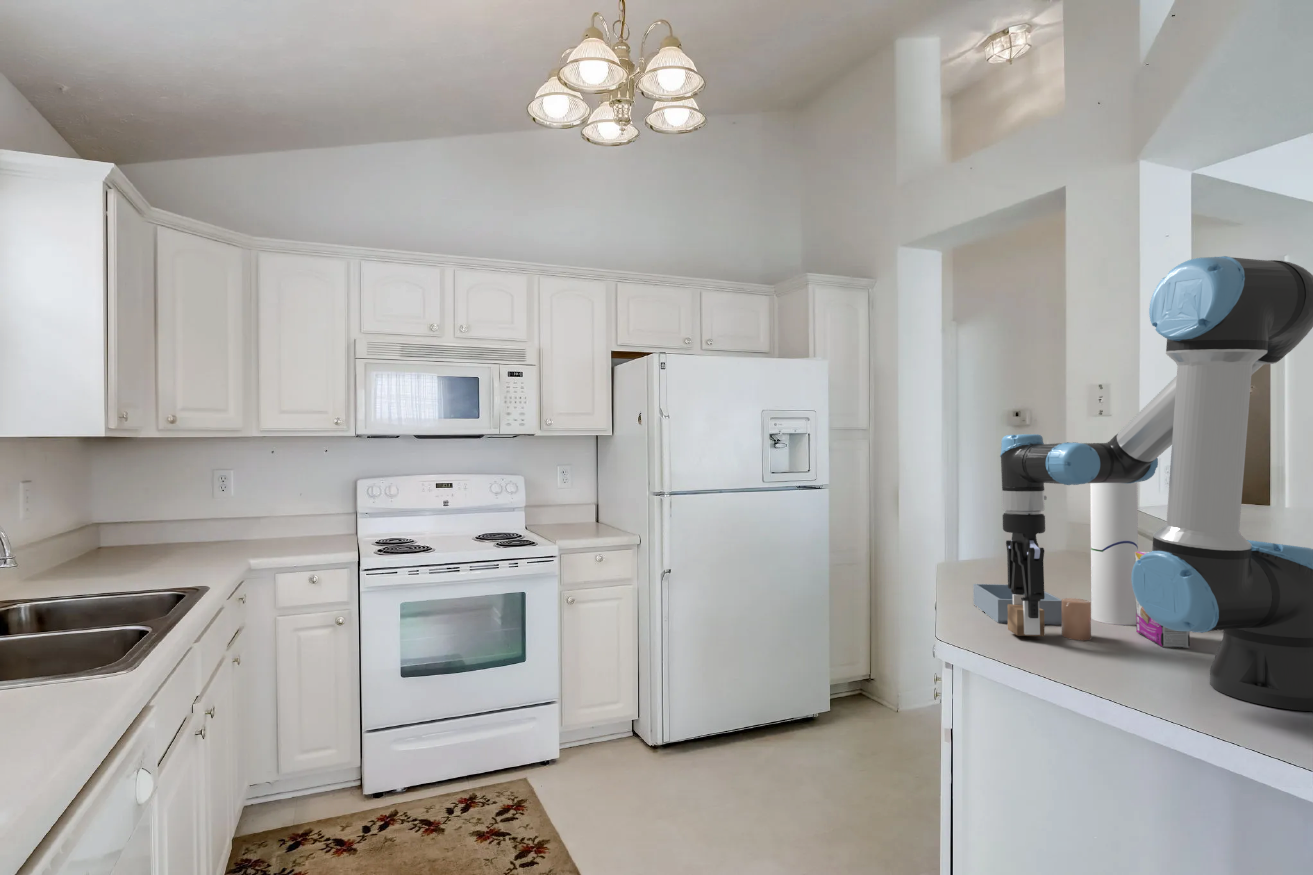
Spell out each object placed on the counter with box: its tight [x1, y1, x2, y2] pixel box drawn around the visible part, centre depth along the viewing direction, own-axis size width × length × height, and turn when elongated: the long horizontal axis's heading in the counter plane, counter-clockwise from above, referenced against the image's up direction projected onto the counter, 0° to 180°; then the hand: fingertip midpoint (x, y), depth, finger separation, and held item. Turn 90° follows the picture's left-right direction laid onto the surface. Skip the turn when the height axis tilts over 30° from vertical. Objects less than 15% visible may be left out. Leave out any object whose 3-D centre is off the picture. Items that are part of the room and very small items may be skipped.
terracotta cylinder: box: [1061, 597, 1092, 641], centre depth 142 cm, size 5×5×7 cm
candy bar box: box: [1135, 551, 1191, 649], centre depth 139 cm, size 11×5×16 cm, turn 168°
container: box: [1089, 482, 1139, 626], centre depth 155 cm, size 9×9×30 cm
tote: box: [972, 583, 1062, 626], centre depth 161 cm, size 17×13×5 cm
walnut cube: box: [1007, 604, 1045, 637], centre depth 142 cm, size 5×5×5 cm
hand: (1026, 630), depth 142 cm, fingers closed on walnut cube, 5 cm apart
